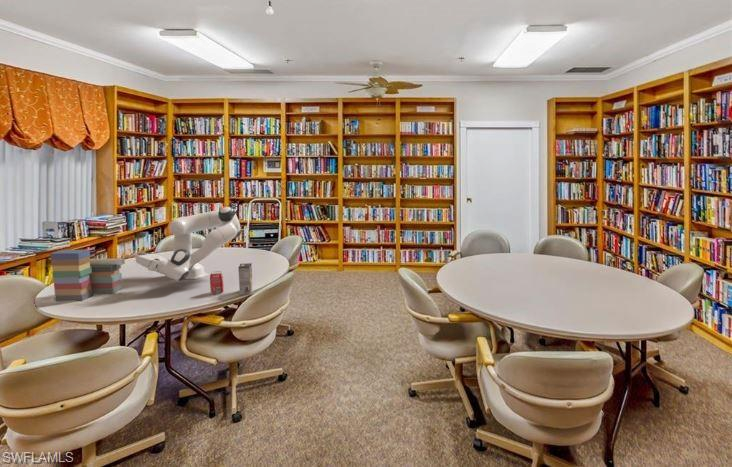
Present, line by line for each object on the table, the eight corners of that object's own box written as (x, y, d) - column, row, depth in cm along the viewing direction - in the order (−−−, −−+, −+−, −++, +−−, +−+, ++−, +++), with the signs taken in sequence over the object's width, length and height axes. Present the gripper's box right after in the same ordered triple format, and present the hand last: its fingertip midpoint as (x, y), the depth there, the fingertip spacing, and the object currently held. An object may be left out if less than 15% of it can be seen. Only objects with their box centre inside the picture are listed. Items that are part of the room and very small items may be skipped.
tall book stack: (94, 295, 227) (89, 249, 223) (83, 300, 217) (78, 253, 213) (67, 295, 226) (62, 249, 222) (55, 301, 216) (50, 253, 212)
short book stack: (122, 288, 240) (120, 262, 237) (113, 293, 230) (111, 266, 227) (94, 289, 238) (91, 262, 236) (84, 294, 229) (81, 266, 226)
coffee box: (241, 290, 238) (240, 263, 236) (252, 289, 240) (251, 263, 237) (239, 294, 229) (238, 267, 227) (251, 294, 231) (250, 266, 228)
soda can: (218, 290, 238) (217, 270, 236) (226, 292, 234) (225, 272, 232) (208, 293, 232) (207, 272, 230) (215, 295, 228) (214, 274, 226)
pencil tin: (124, 263, 234) (124, 258, 234) (121, 265, 231) (121, 259, 230) (81, 264, 233) (80, 259, 232) (77, 265, 229) (76, 260, 229)
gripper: (169, 257, 243) (148, 247, 242) (154, 260, 222) (130, 249, 221) (164, 267, 243) (143, 256, 242) (148, 271, 222) (125, 259, 221)
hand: (137, 253), depth 231 cm, fingers open, 8 cm apart
